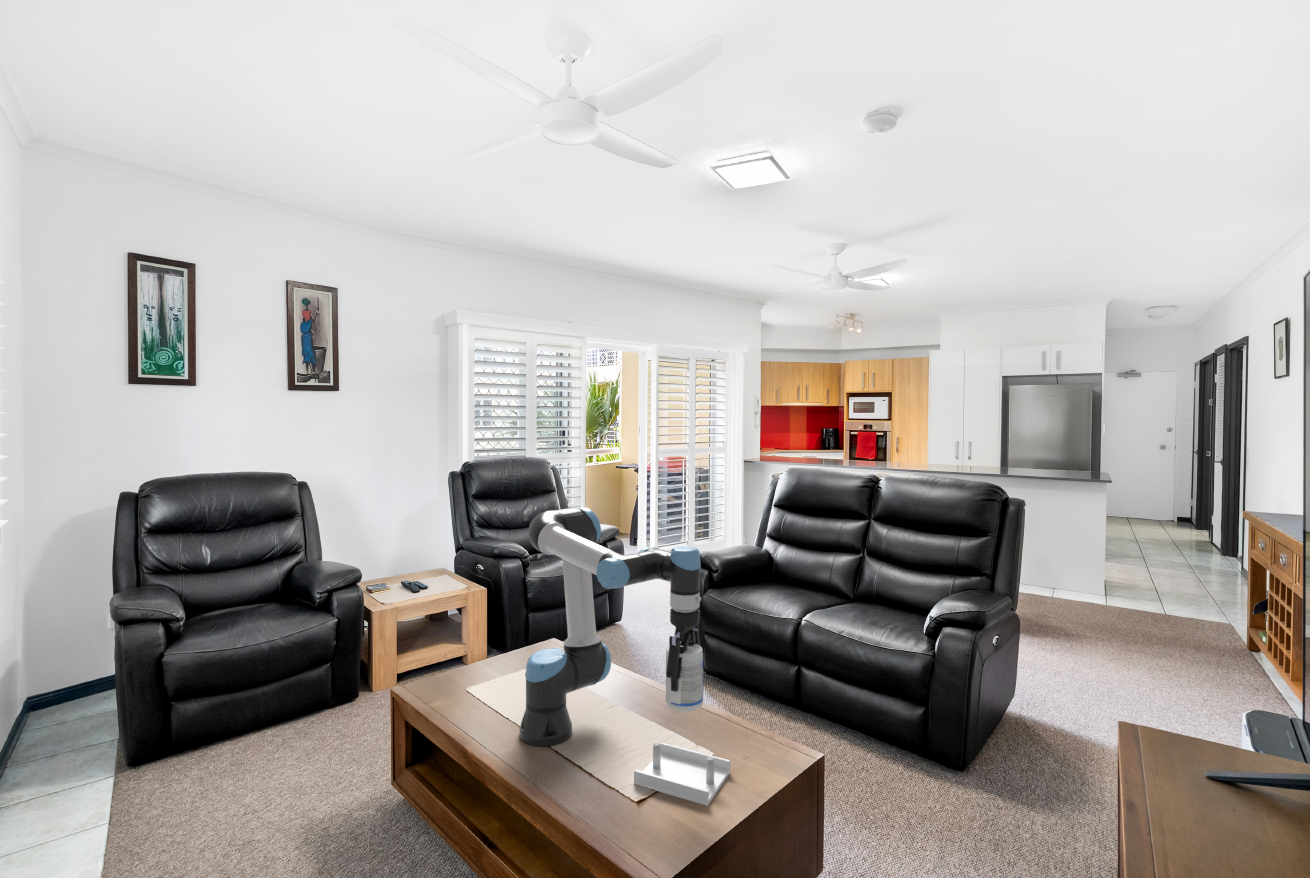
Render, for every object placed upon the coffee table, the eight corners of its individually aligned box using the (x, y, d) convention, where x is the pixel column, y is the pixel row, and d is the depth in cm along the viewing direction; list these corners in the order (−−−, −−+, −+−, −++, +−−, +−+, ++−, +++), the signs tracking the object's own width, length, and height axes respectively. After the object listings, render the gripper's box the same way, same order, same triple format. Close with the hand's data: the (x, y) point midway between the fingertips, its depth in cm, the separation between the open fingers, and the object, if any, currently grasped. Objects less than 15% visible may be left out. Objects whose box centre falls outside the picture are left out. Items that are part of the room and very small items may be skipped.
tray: (633, 784, 163) (634, 757, 163) (661, 754, 178) (661, 729, 177) (707, 805, 154) (707, 777, 154) (730, 772, 169) (730, 746, 169)
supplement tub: (710, 707, 164) (711, 650, 163) (680, 716, 159) (680, 657, 158) (687, 693, 172) (688, 638, 171) (658, 701, 167) (658, 645, 166)
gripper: (680, 622, 153) (679, 715, 154) (714, 599, 173) (713, 681, 173) (652, 618, 156) (651, 709, 157) (688, 595, 176) (687, 676, 177)
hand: (684, 694), depth 165 cm, fingers closed on supplement tub, 9 cm apart
